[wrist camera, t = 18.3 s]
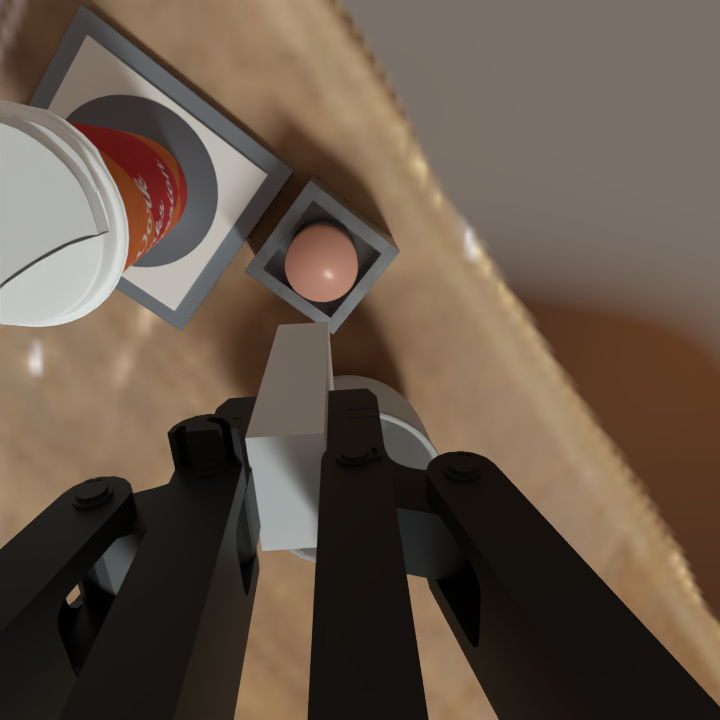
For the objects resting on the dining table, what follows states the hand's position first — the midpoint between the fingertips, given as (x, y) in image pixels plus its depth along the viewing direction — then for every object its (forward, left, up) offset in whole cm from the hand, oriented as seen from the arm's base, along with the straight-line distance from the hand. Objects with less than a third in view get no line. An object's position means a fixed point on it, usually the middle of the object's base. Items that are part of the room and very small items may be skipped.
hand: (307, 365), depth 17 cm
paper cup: (-10, -3, -17) cm, 20 cm away
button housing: (0, 0, -18) cm, 18 cm away
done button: (0, 0, -16) cm, 16 cm away
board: (-10, -3, -18) cm, 21 cm away
